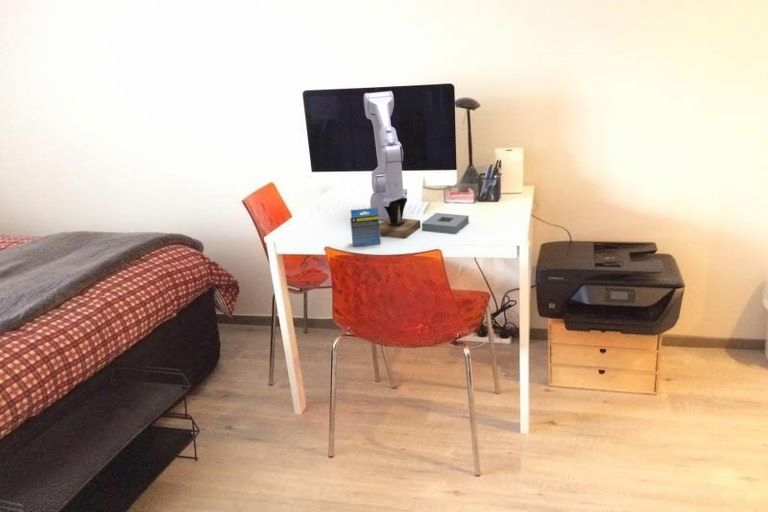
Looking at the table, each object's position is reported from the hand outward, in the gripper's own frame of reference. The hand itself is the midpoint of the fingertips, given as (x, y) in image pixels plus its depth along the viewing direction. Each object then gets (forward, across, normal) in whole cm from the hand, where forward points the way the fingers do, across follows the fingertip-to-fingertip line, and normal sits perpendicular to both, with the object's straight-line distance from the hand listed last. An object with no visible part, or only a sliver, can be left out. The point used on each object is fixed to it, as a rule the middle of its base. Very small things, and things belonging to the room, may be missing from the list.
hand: (396, 221), depth 204 cm
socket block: (+3, 0, 0) cm, 3 cm away
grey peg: (+3, 0, 0) cm, 3 cm away
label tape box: (+4, -14, +4) cm, 15 cm away
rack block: (+3, +9, -14) cm, 17 cm away
